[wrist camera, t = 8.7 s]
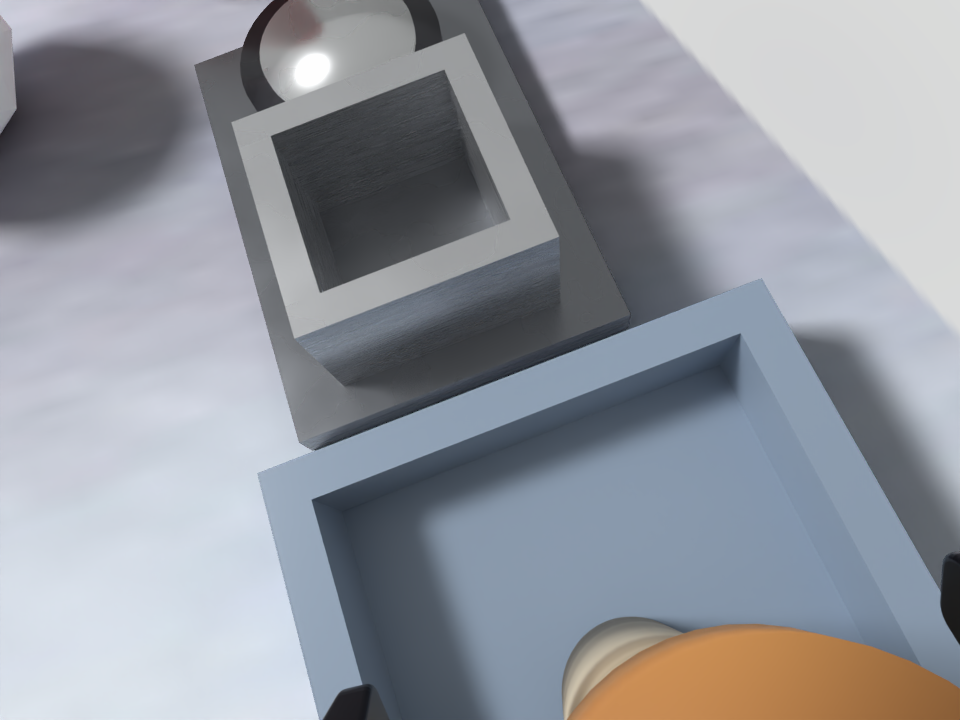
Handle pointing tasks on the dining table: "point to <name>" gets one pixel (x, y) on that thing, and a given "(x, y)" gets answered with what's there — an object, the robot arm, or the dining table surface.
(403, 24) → the grey piece
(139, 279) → the dining table surface
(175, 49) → the dining table surface
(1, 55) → the ball
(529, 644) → the tray
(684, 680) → the orange-brown round-topped piece
